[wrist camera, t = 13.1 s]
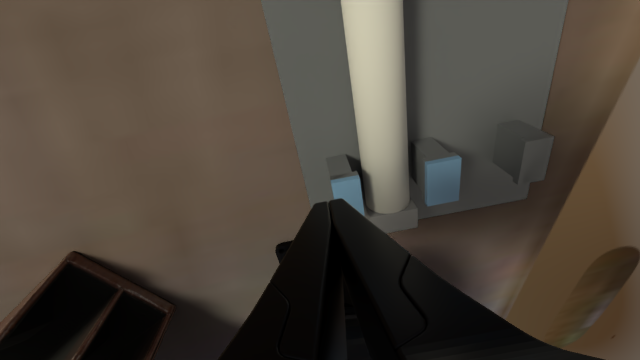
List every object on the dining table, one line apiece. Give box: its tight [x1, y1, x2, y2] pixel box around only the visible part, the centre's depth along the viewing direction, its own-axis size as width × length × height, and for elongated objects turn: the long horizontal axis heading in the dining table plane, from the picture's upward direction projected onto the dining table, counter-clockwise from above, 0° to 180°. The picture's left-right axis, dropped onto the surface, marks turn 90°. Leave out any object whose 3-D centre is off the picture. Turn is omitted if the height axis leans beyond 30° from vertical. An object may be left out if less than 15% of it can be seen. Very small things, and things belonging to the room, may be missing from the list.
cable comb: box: [261, 0, 568, 219], centre depth 16 cm, size 17×25×4 cm
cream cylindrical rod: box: [341, 0, 418, 233], centre depth 16 cm, size 21×3×3 cm, turn 10°
